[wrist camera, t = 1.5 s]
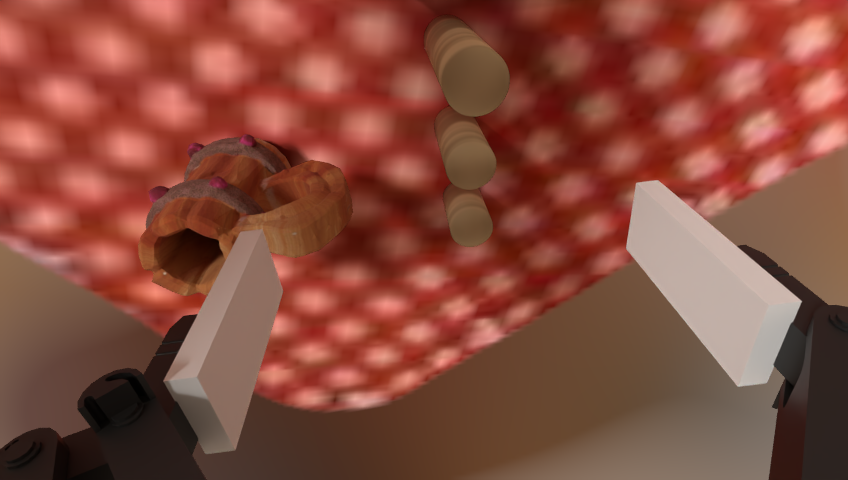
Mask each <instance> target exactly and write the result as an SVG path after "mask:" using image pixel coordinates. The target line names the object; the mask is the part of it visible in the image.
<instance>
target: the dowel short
mask: <svg viewBox="0 0 848 480" xmlns="http://www.w3.org/2000/svg"><path fill="white" fill-rule="evenodd" d="M443 203H444V207H445V211H446V215H447V219H448V224H449V228H450V232H451V236H452V238H453V239H454V241H455V242H456V243H458V244H460V245H462V246H465V247H474V246H478V245H480V244H482V243H484V242H485V241H486V240H487V239H488V238H489V237H490V235H491V233H492V231H493V223H492V220H491V217H490V215H489V212H488V210H487V207H486V205H485V202H484V200H483V197H482V195H481V192H480V190H479V188H477V189H472V190H466V189H461V188H459V187H457V186H455V185H454V184H452V183H451V184H449V185H448V186H447V187H446V189H445V191H444V193H443Z"/></svg>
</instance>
